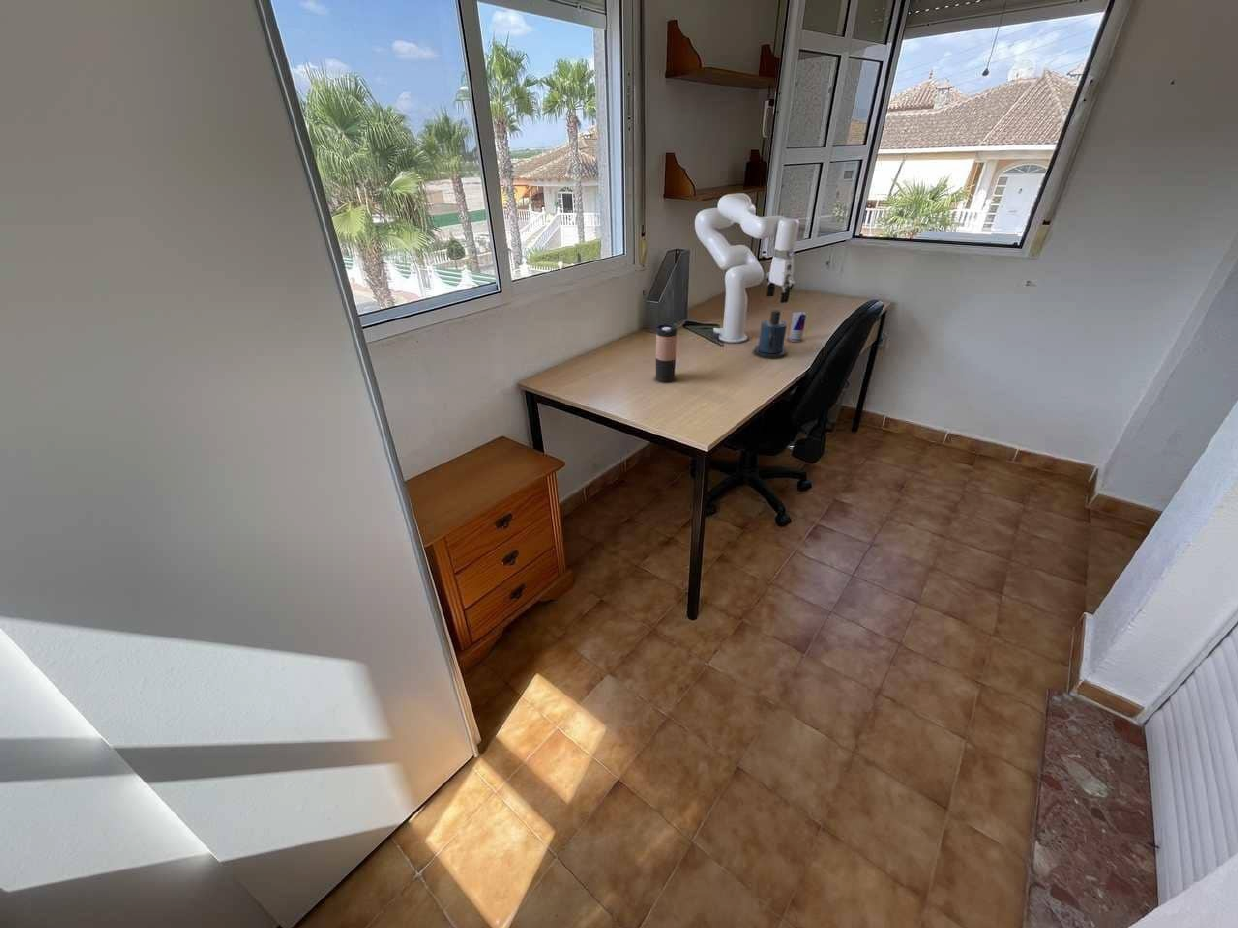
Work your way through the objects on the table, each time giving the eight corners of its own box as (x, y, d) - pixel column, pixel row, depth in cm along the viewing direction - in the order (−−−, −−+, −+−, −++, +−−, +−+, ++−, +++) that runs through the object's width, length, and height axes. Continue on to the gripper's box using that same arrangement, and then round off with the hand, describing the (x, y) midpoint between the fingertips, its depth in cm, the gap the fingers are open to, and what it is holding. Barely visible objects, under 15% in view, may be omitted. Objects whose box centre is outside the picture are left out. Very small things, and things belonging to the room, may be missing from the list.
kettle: (760, 342, 228) (765, 305, 219) (784, 344, 225) (790, 307, 216) (756, 354, 215) (760, 315, 207) (781, 356, 212) (787, 317, 204)
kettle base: (752, 356, 218) (752, 353, 217) (756, 346, 228) (756, 343, 227) (784, 360, 214) (785, 356, 213) (787, 349, 224) (787, 346, 223)
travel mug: (662, 373, 204) (664, 322, 193) (679, 378, 200) (681, 326, 189) (651, 379, 199) (652, 328, 188) (667, 384, 195) (669, 332, 184)
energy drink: (801, 342, 231) (806, 315, 225) (789, 341, 232) (793, 315, 226) (800, 338, 236) (805, 312, 230) (788, 338, 237) (792, 311, 230)
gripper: (806, 257, 194) (797, 304, 204) (778, 249, 208) (772, 293, 217) (789, 259, 192) (781, 306, 201) (762, 250, 206) (756, 294, 215)
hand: (776, 299), depth 209 cm, fingers open, 9 cm apart
